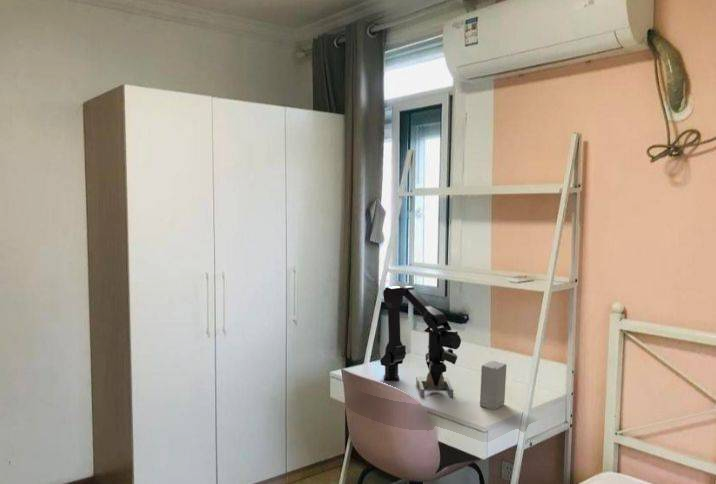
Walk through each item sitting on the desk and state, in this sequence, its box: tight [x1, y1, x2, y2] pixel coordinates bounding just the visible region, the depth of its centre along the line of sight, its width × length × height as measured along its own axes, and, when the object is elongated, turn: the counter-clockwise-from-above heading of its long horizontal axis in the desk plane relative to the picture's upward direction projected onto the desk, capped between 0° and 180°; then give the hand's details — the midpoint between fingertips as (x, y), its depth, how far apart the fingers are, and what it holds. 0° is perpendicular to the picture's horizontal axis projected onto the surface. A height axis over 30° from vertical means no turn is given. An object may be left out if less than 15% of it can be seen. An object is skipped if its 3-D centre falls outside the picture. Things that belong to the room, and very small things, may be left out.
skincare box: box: [479, 360, 507, 411], centre depth 211 cm, size 8×7×16 cm
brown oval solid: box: [426, 370, 445, 391], centre depth 226 cm, size 7×7×9 cm
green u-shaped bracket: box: [415, 376, 454, 398], centre depth 229 cm, size 17×13×3 cm
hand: (435, 383), depth 226 cm, fingers closed on brown oval solid, 7 cm apart
